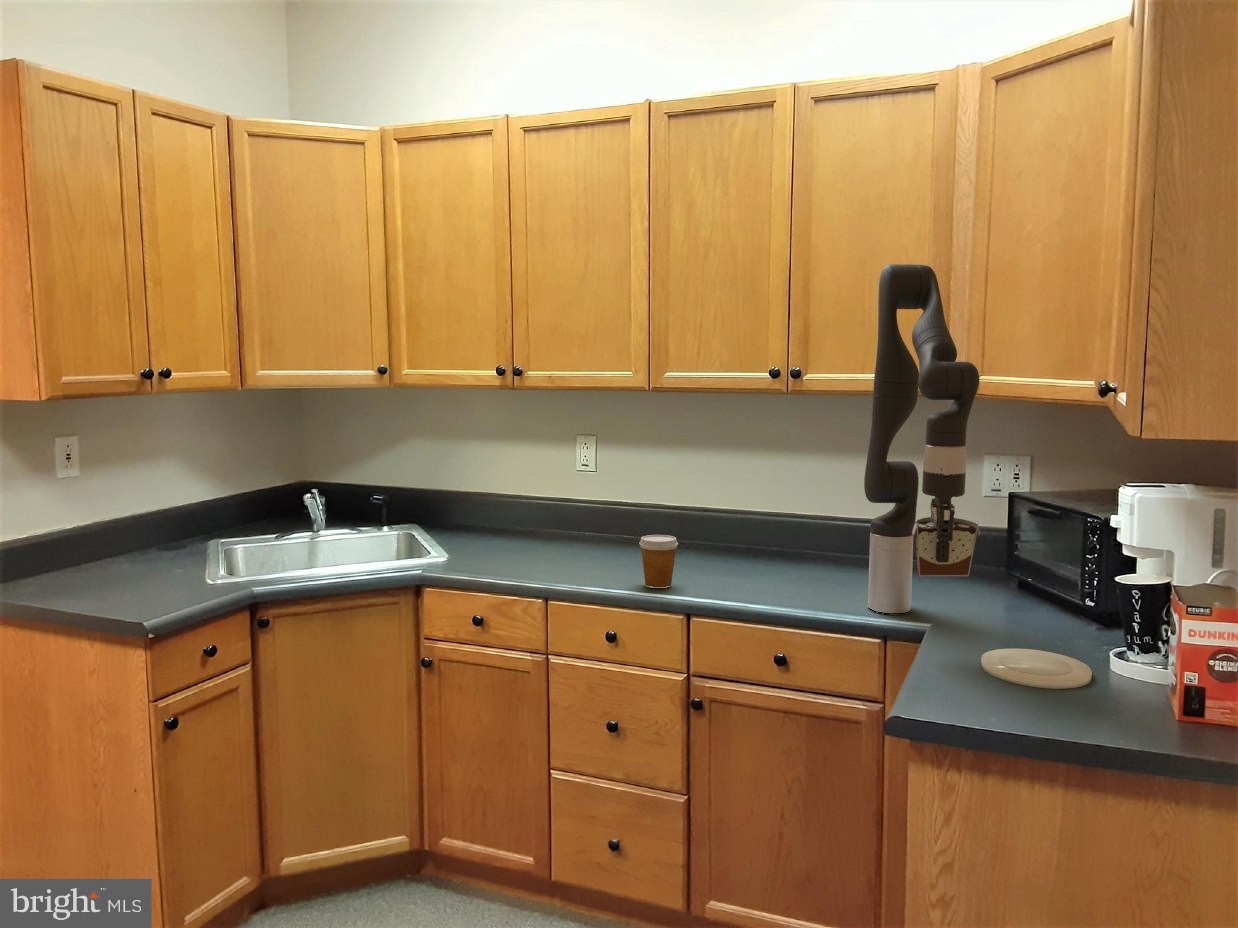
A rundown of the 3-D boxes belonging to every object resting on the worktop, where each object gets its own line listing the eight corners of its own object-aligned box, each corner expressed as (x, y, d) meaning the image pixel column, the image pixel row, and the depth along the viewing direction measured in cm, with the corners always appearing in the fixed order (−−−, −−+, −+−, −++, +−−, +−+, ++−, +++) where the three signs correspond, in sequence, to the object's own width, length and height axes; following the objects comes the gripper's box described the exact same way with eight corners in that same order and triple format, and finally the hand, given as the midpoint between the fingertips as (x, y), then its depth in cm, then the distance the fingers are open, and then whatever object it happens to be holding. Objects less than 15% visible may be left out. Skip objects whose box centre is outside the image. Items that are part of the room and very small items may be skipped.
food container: (964, 566, 176) (968, 515, 174) (976, 576, 170) (981, 524, 168) (900, 566, 176) (904, 516, 174) (910, 576, 170) (914, 524, 168)
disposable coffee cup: (683, 583, 226) (683, 536, 225) (669, 592, 218) (669, 543, 216) (648, 579, 230) (648, 533, 229) (632, 588, 222) (632, 539, 220)
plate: (973, 651, 174) (974, 644, 174) (1076, 658, 170) (1076, 651, 170) (989, 683, 157) (990, 676, 156) (1104, 692, 152) (1104, 685, 152)
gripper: (919, 464, 177) (915, 549, 179) (927, 473, 163) (922, 565, 166) (960, 465, 176) (956, 551, 178) (971, 475, 162) (966, 568, 164)
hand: (940, 557), depth 172 cm, fingers closed on food container, 5 cm apart
